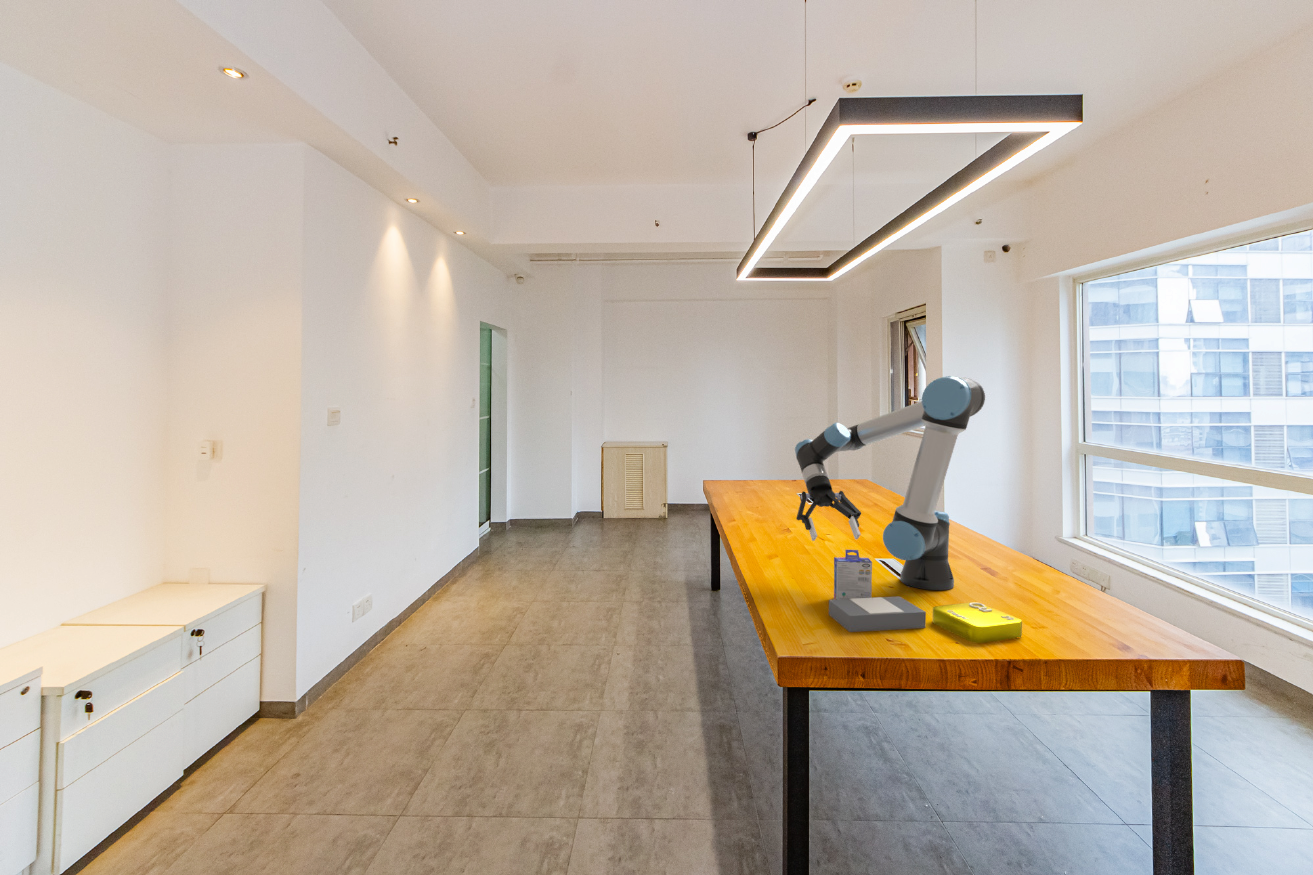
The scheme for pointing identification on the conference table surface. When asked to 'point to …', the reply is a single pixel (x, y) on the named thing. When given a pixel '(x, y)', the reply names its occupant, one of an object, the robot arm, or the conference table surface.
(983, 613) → the element tile
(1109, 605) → the conference table surface
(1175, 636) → the conference table surface
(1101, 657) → the conference table surface
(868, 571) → the ink cartridge box
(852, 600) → the grey flat block
